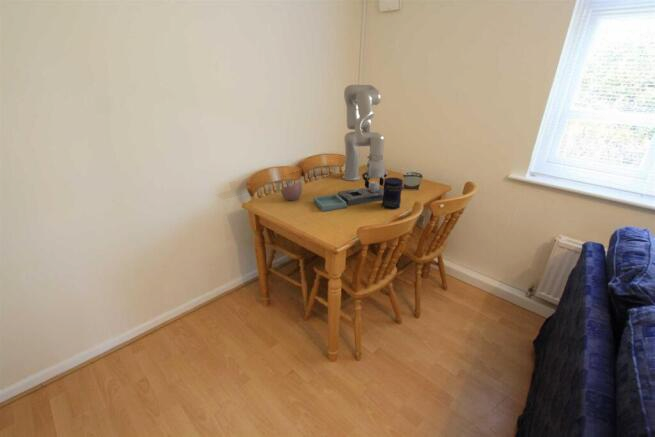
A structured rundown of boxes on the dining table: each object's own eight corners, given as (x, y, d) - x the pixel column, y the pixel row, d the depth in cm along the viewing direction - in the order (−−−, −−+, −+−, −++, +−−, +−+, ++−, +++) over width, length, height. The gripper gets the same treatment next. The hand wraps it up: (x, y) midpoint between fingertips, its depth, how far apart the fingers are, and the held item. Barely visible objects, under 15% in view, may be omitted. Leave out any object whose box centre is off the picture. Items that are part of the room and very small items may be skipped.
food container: (419, 186, 197) (421, 171, 193) (420, 190, 191) (423, 174, 187) (400, 186, 198) (401, 171, 194) (401, 189, 192) (402, 174, 188)
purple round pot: (293, 194, 184) (292, 176, 179) (306, 199, 176) (306, 180, 171) (277, 199, 176) (276, 180, 171) (290, 205, 169) (289, 185, 164)
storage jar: (396, 211, 162) (399, 184, 156) (379, 207, 167) (381, 181, 160) (402, 204, 170) (405, 179, 163) (386, 201, 174) (388, 176, 168)
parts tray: (313, 202, 172) (313, 197, 171) (335, 198, 177) (336, 194, 176) (322, 211, 161) (322, 206, 159) (346, 207, 166) (346, 202, 164)
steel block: (367, 195, 182) (368, 181, 178) (374, 194, 183) (375, 180, 180) (371, 198, 178) (372, 184, 174) (378, 197, 180) (379, 183, 176)
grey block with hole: (337, 197, 180) (337, 191, 178) (378, 191, 189) (378, 185, 188) (348, 205, 168) (348, 200, 166) (390, 198, 178) (391, 193, 176)
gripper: (365, 160, 164) (364, 190, 171) (392, 157, 170) (390, 186, 178) (359, 157, 171) (357, 186, 178) (385, 154, 177) (383, 182, 184)
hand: (374, 186), depth 178 cm, fingers open, 9 cm apart
